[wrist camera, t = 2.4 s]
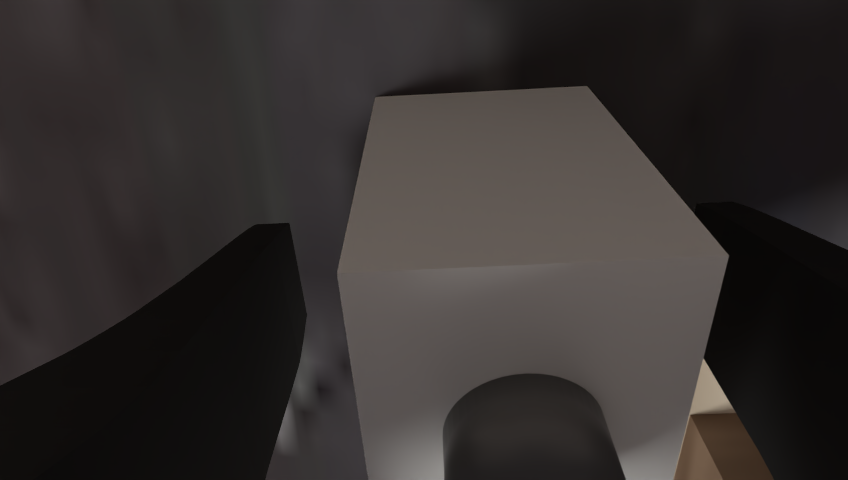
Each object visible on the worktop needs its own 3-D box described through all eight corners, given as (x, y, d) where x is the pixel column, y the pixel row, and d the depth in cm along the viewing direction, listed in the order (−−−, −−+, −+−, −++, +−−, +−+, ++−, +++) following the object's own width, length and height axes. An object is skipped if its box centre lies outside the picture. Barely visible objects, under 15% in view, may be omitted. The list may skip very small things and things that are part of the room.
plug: (395, 306, 14) (376, 631, 8) (375, 96, 11) (322, 337, 5) (567, 299, 14) (681, 620, 8) (586, 85, 11) (779, 316, 5)
